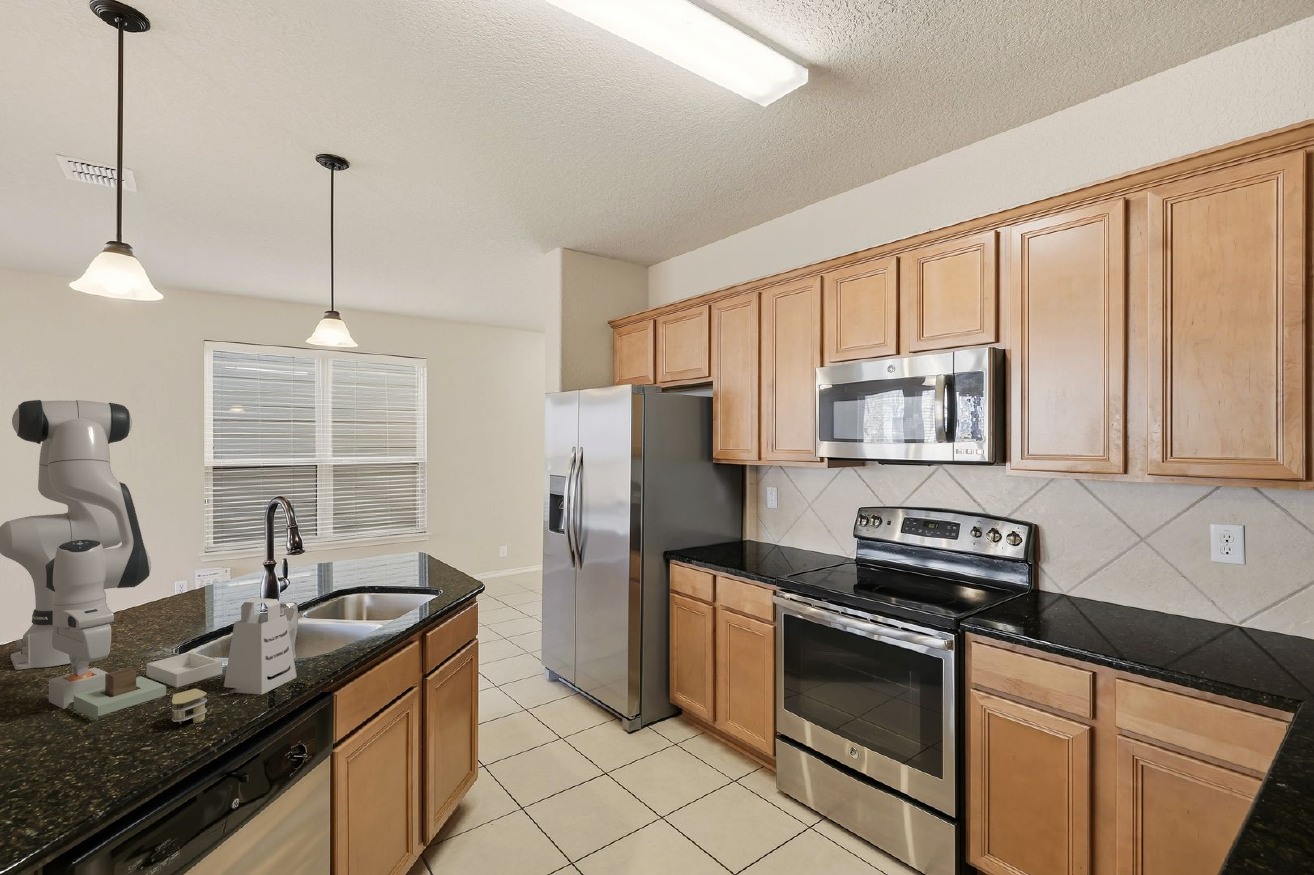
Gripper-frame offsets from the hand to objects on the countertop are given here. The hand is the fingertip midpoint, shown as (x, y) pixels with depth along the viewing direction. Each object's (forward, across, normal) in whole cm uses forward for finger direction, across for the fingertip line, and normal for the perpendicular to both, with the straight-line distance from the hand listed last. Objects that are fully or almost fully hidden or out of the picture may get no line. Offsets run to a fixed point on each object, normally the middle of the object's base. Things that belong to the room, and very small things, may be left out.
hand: (79, 673), depth 138 cm
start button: (+3, 0, 0) cm, 3 cm away
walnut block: (+5, +12, +3) cm, 13 cm away
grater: (+6, +28, +24) cm, 37 cm away
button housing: (+6, 0, 0) cm, 6 cm away
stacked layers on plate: (+6, +35, +6) cm, 36 cm away
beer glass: (+6, +18, +35) cm, 40 cm away
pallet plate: (+6, +12, +3) cm, 13 cm away
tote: (+6, +8, +17) cm, 20 cm away
